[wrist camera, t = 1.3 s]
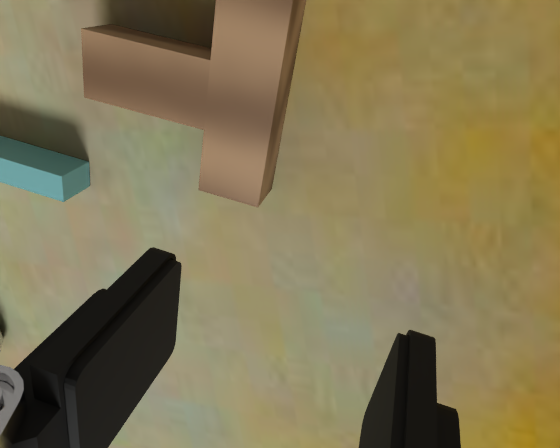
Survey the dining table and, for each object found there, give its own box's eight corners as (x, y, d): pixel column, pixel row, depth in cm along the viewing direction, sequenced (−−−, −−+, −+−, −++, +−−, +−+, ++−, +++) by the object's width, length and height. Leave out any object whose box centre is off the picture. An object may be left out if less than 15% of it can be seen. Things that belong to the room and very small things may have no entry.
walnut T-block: (110, -49, 27) (77, -52, 24) (307, -7, 25) (293, -5, 23) (113, 143, 33) (86, 157, 30) (271, 188, 31) (257, 207, 29)
